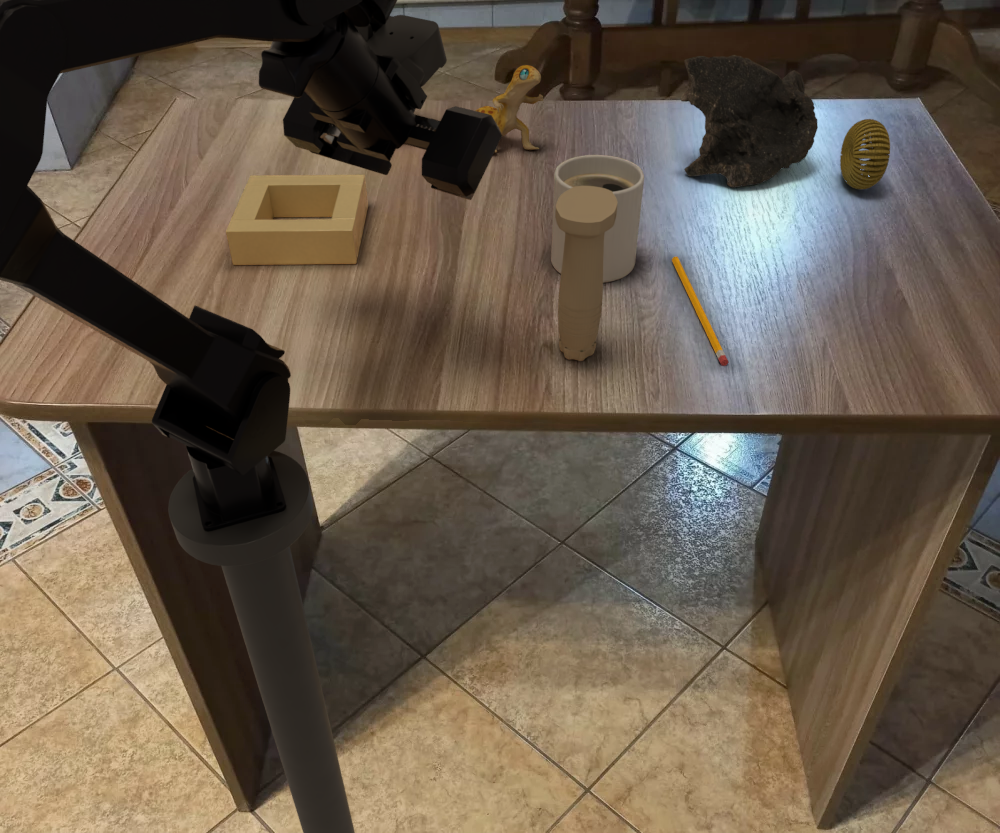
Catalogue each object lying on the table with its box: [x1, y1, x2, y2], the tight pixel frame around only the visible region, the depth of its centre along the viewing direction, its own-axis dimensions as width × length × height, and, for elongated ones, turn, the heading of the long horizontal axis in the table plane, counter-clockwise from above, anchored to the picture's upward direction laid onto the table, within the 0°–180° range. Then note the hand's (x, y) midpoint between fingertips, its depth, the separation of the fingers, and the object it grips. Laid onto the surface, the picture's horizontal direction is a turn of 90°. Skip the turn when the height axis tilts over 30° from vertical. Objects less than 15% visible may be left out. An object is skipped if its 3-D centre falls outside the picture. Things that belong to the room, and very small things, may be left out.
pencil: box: [671, 256, 729, 366], centre depth 88 cm, size 1×18×1 cm, turn 5°
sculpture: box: [839, 118, 891, 190], centre depth 106 cm, size 8×4×8 cm, turn 179°
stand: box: [225, 174, 369, 266], centre depth 99 cm, size 13×13×4 cm
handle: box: [555, 186, 617, 362], centre depth 78 cm, size 5×6×15 cm
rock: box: [680, 54, 819, 188], centre depth 111 cm, size 17×12×15 cm
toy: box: [474, 64, 544, 154], centre depth 116 cm, size 7×15×10 cm, turn 44°
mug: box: [550, 154, 645, 284], centre depth 93 cm, size 11×10×10 cm
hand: (429, 182), depth 81 cm, fingers open, 9 cm apart
